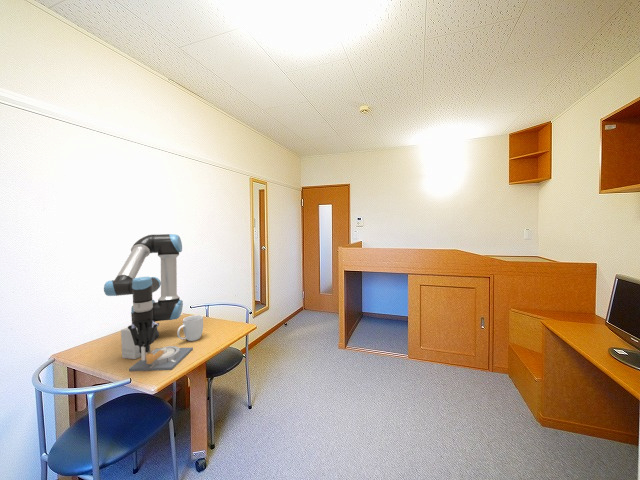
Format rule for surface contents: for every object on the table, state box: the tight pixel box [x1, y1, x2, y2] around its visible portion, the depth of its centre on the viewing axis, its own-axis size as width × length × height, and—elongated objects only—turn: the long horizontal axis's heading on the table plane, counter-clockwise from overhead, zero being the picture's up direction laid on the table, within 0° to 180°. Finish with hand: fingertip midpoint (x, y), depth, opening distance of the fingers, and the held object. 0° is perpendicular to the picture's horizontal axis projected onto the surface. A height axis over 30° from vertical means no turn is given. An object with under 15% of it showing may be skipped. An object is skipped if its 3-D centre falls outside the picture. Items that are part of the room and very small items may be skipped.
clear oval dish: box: [146, 347, 175, 364], centre depth 121 cm, size 16×10×6 cm, turn 1°
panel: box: [128, 345, 194, 372], centre depth 125 cm, size 20×20×4 cm
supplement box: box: [120, 326, 151, 360], centre depth 130 cm, size 9×9×15 cm
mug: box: [176, 314, 204, 342], centre depth 147 cm, size 15×11×13 cm
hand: (145, 358), depth 115 cm, fingers closed
